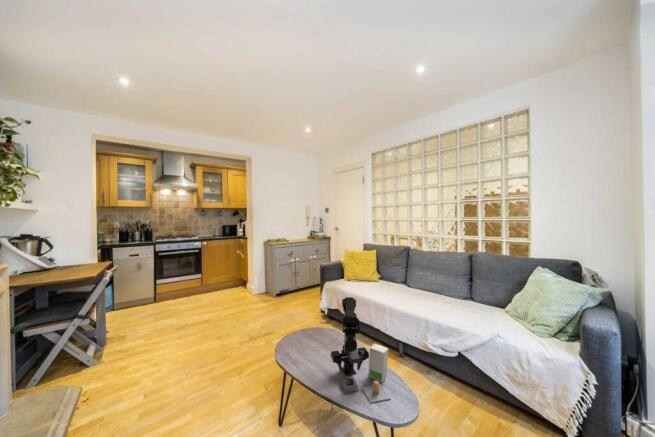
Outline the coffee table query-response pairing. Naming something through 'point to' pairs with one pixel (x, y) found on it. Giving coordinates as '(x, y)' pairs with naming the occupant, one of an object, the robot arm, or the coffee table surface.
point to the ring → (349, 388)
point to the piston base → (376, 397)
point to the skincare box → (378, 362)
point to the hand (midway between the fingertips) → (349, 371)
